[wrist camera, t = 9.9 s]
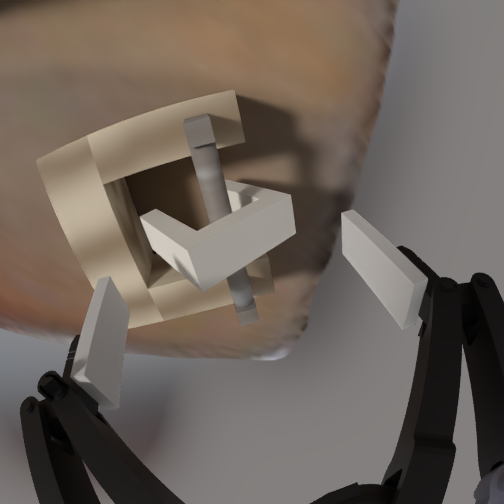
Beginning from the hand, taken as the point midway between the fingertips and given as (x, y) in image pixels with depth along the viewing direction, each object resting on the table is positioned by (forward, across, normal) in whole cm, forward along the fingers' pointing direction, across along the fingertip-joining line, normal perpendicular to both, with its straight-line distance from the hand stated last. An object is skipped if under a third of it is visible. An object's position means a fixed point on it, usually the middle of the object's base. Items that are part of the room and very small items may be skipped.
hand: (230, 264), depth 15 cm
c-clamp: (+14, -5, -1) cm, 15 cm away
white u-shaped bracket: (+10, -2, -1) cm, 11 cm away
